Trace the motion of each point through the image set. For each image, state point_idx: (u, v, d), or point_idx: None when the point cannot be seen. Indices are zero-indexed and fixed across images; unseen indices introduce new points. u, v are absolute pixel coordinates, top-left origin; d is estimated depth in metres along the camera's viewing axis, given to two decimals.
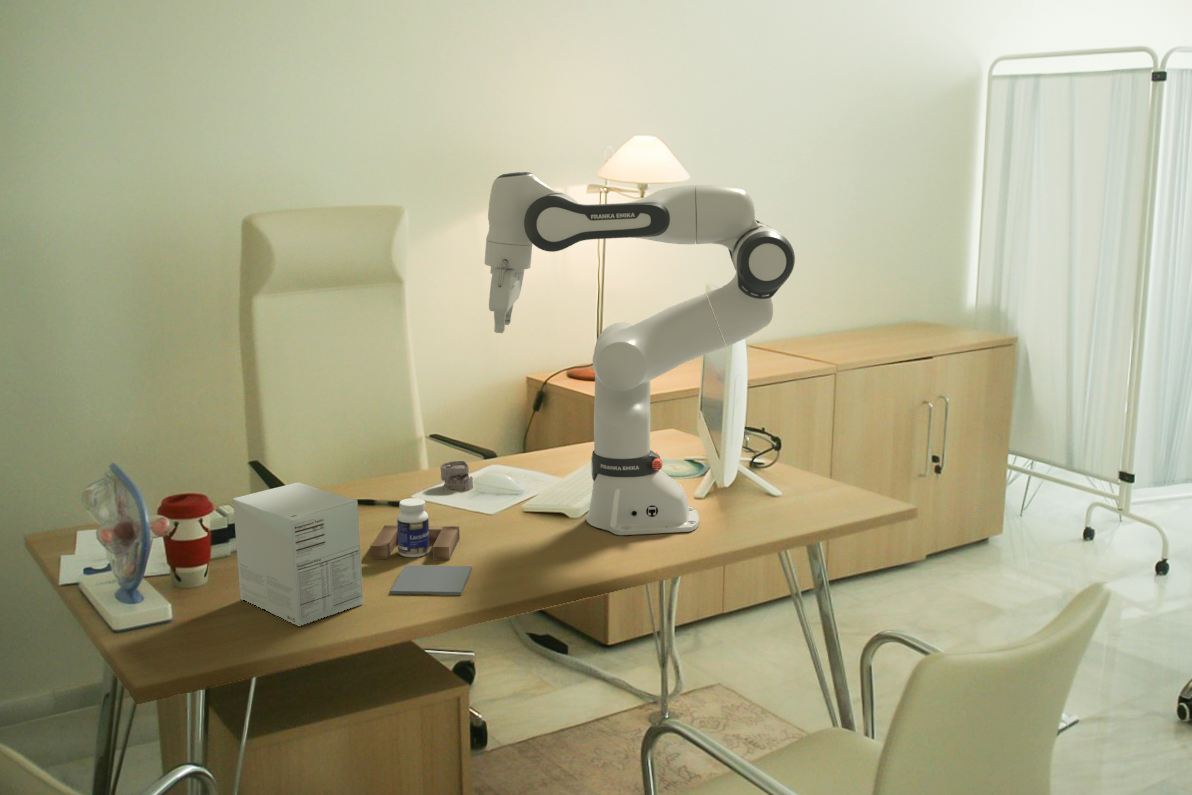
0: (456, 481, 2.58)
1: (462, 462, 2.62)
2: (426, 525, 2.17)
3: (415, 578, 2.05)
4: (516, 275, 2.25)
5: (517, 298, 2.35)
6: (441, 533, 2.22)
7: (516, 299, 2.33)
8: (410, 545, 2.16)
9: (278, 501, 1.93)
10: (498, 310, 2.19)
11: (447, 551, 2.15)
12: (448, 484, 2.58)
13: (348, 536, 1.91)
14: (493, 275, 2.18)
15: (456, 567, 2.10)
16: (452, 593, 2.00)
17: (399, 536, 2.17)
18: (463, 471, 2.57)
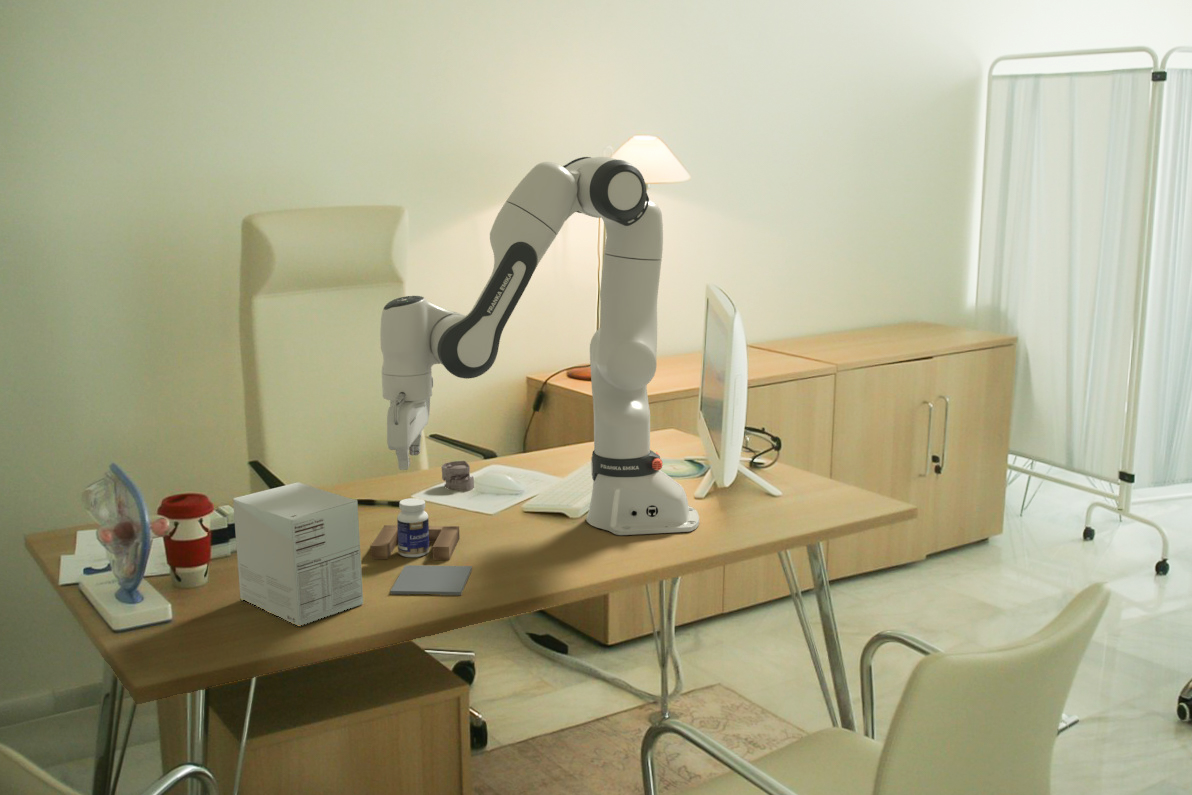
0: (457, 481, 2.58)
1: (463, 462, 2.62)
2: (426, 525, 2.17)
3: (415, 578, 2.05)
4: (416, 406, 2.11)
5: (425, 425, 2.21)
6: (441, 533, 2.22)
7: (423, 427, 2.19)
8: (410, 545, 2.16)
9: (278, 502, 1.93)
10: (398, 448, 2.05)
11: (447, 551, 2.15)
12: (449, 484, 2.58)
13: (348, 536, 1.91)
14: (388, 412, 2.04)
15: (456, 567, 2.10)
16: (452, 593, 2.00)
17: (399, 536, 2.17)
18: (464, 471, 2.57)
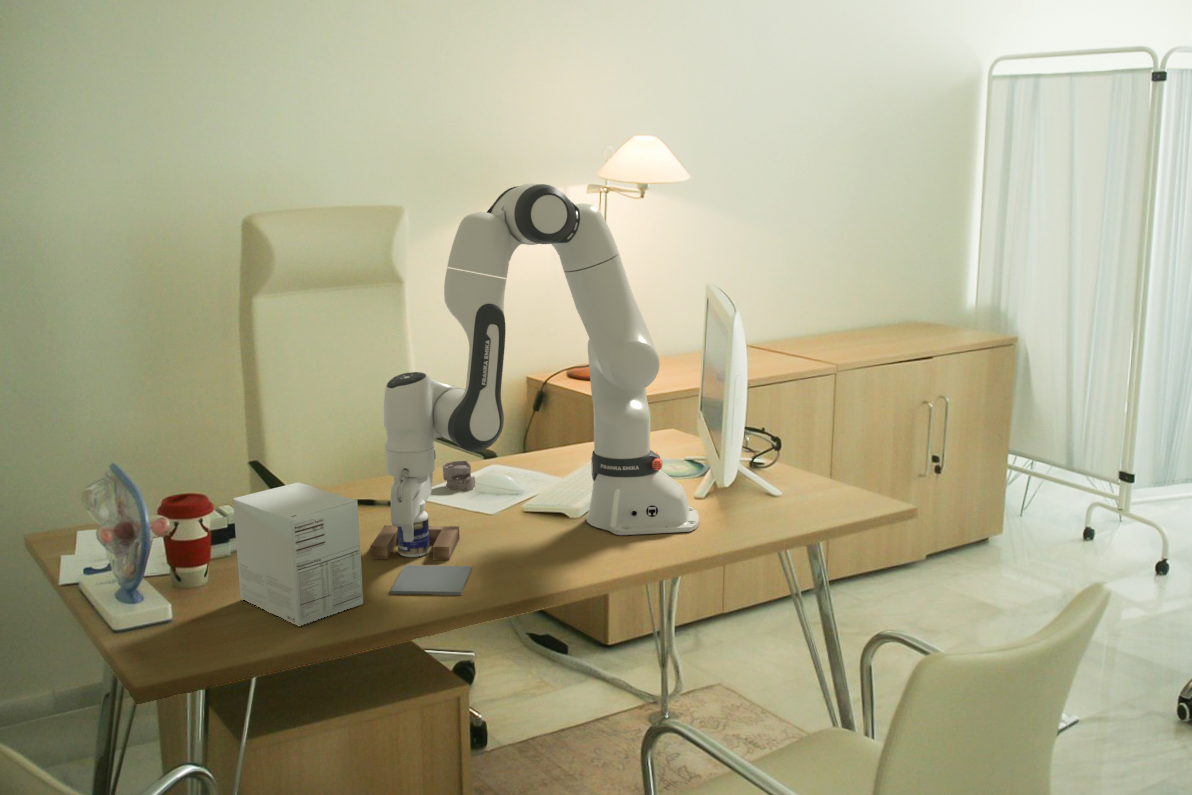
0: (458, 481, 2.58)
1: (464, 462, 2.62)
2: (426, 525, 2.17)
3: (415, 578, 2.05)
4: (420, 481, 2.14)
5: None
6: (441, 533, 2.22)
7: (426, 499, 2.22)
8: (410, 545, 2.16)
9: (278, 502, 1.93)
10: (401, 525, 2.08)
11: (447, 551, 2.15)
12: (450, 484, 2.58)
13: (348, 536, 1.91)
14: (392, 490, 2.08)
15: (456, 567, 2.10)
16: (452, 593, 2.00)
17: (399, 536, 2.17)
18: (465, 471, 2.57)
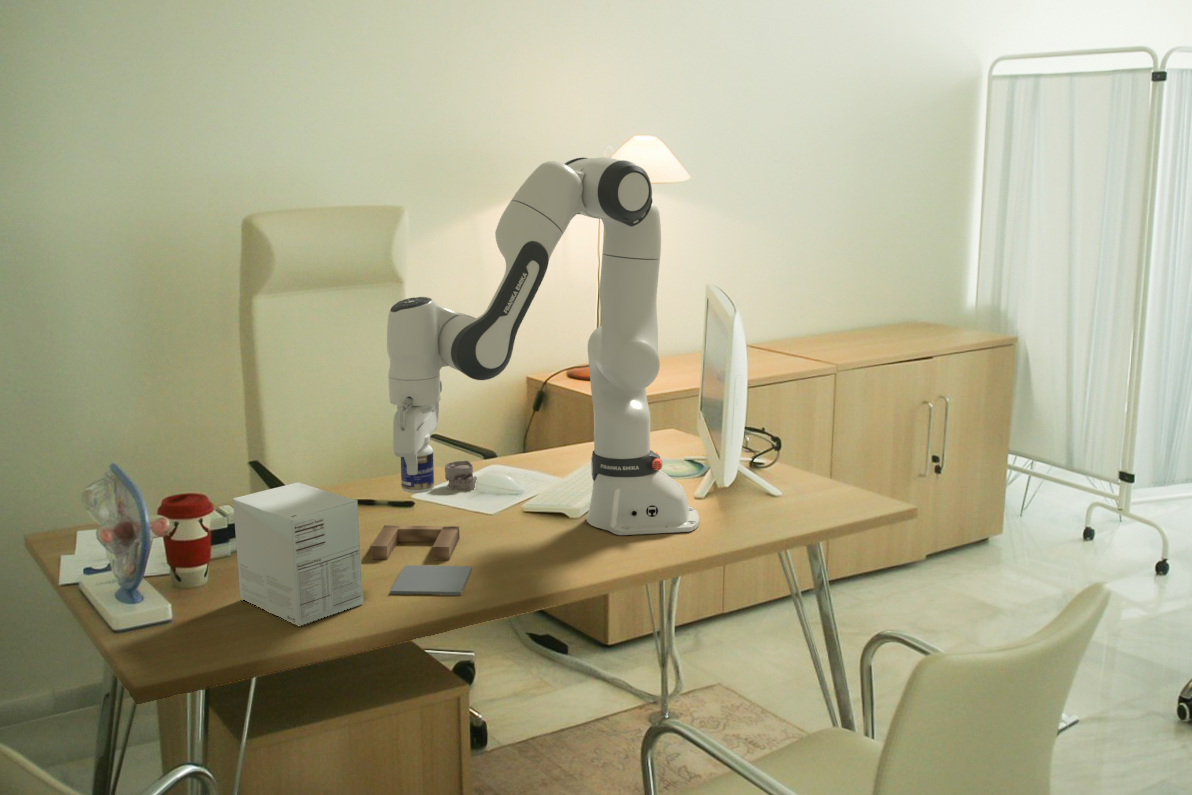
0: (460, 481, 2.58)
1: (466, 462, 2.62)
2: (431, 459, 2.08)
3: (415, 578, 2.05)
4: (424, 411, 2.04)
5: (433, 431, 2.14)
6: (441, 533, 2.22)
7: (431, 433, 2.12)
8: (414, 480, 2.07)
9: (278, 502, 1.93)
10: (404, 455, 1.98)
11: (447, 551, 2.15)
12: (452, 484, 2.58)
13: (348, 536, 1.91)
14: (395, 418, 1.98)
15: (456, 567, 2.10)
16: (452, 593, 2.00)
17: (402, 471, 2.08)
18: (467, 471, 2.57)
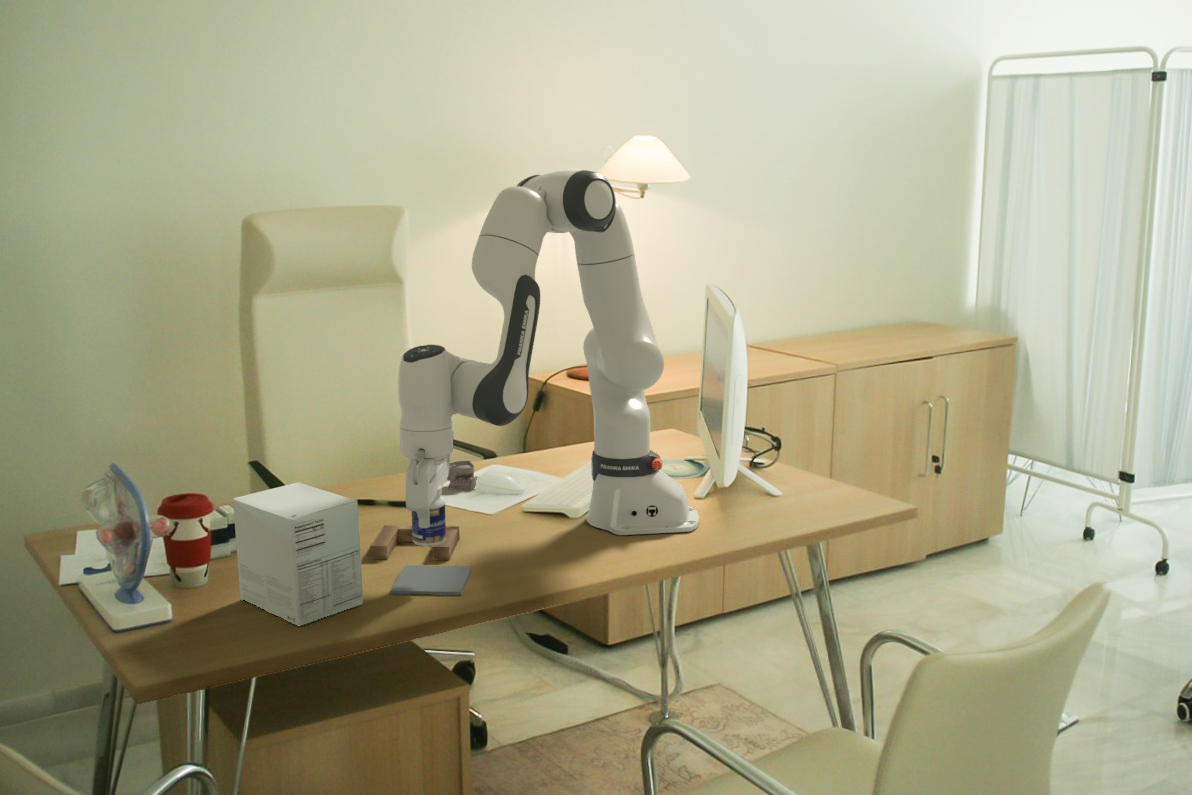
0: (462, 481, 2.58)
1: (467, 462, 2.62)
2: (443, 512, 2.02)
3: (415, 578, 2.05)
4: (437, 463, 1.98)
5: (445, 480, 2.08)
6: None
7: (443, 483, 2.07)
8: (426, 533, 2.01)
9: (278, 502, 1.93)
10: (417, 509, 1.93)
11: (447, 551, 2.15)
12: (453, 484, 2.58)
13: (348, 536, 1.91)
14: (407, 471, 1.92)
15: (456, 567, 2.10)
16: (452, 593, 2.00)
17: (414, 523, 2.02)
18: (469, 471, 2.57)
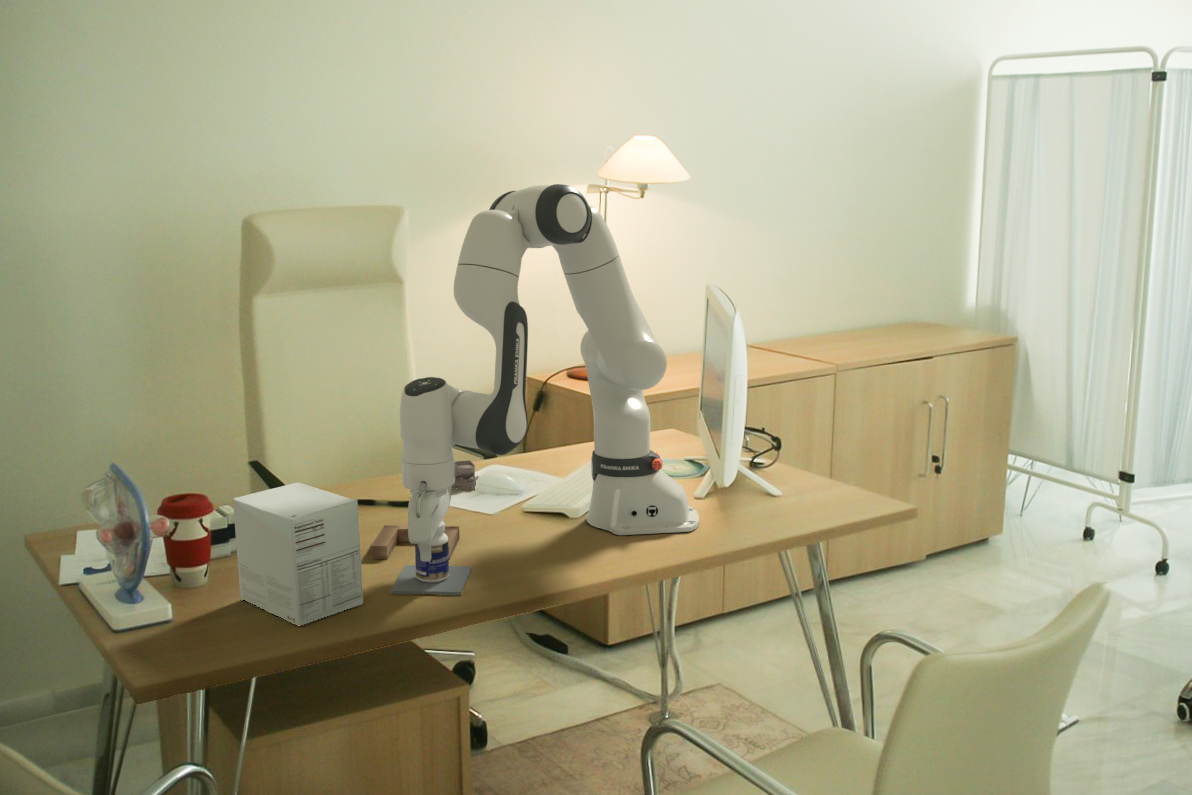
0: (462, 481, 2.58)
1: (468, 462, 2.62)
2: (446, 548, 2.04)
3: (415, 578, 2.05)
4: (438, 495, 2.00)
5: (447, 510, 2.10)
6: None
7: (445, 513, 2.08)
8: (429, 570, 2.02)
9: (278, 502, 1.93)
10: (419, 542, 1.94)
11: None
12: (454, 484, 2.58)
13: (348, 536, 1.91)
14: (410, 504, 1.93)
15: (456, 567, 2.10)
16: (452, 593, 2.00)
17: (417, 560, 2.03)
18: (469, 471, 2.57)
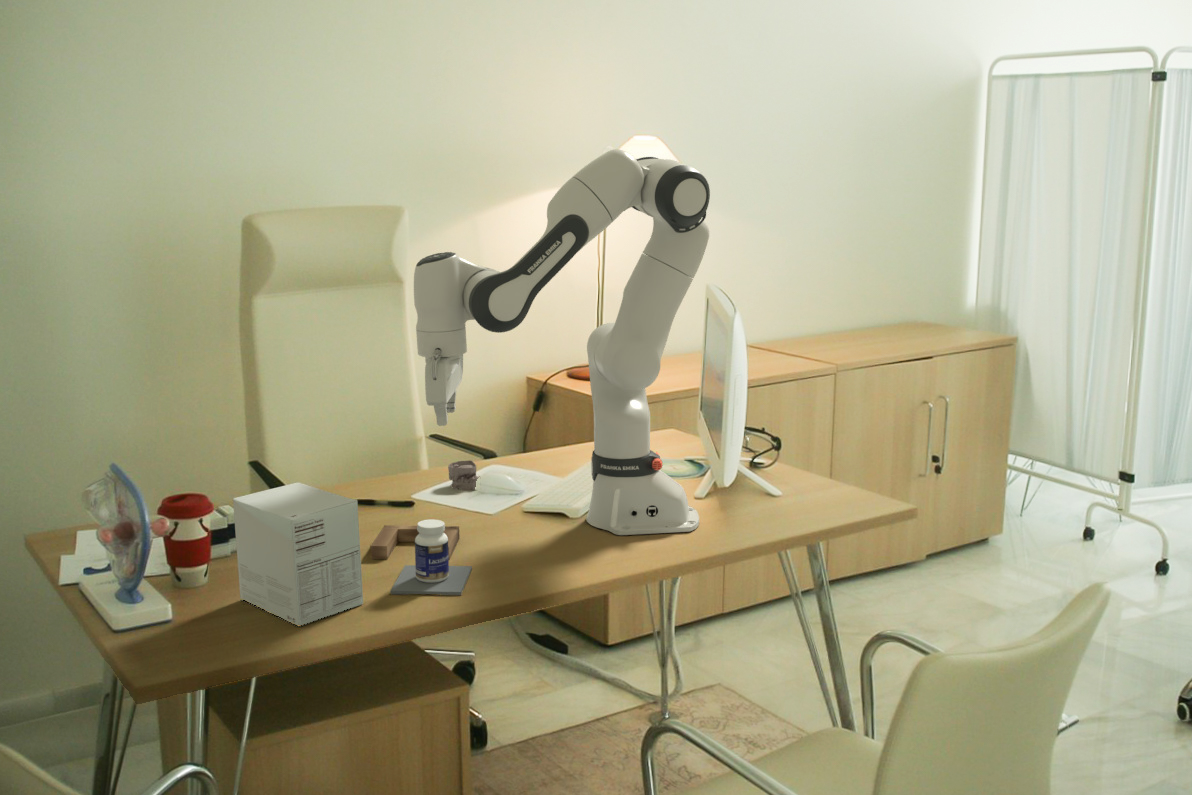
0: (464, 480, 2.58)
1: (470, 462, 2.62)
2: (446, 548, 2.04)
3: (415, 578, 2.05)
4: (452, 362, 2.12)
5: (459, 382, 2.22)
6: None
7: (458, 384, 2.20)
8: (429, 570, 2.02)
9: (278, 502, 1.93)
10: (436, 404, 2.06)
11: None
12: (456, 483, 2.58)
13: (348, 536, 1.91)
14: (426, 368, 2.05)
15: (456, 567, 2.10)
16: (452, 593, 2.00)
17: (417, 560, 2.03)
18: (471, 470, 2.57)
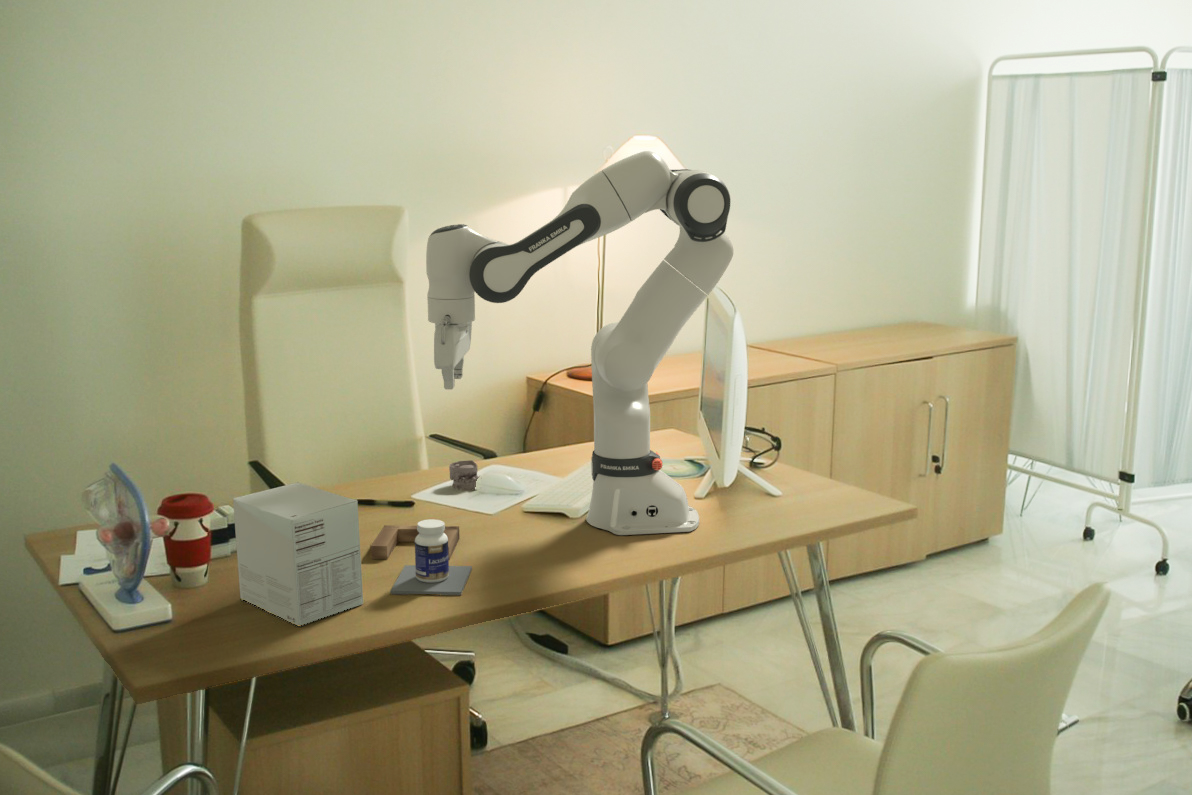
0: (465, 480, 2.58)
1: (471, 461, 2.62)
2: (446, 548, 2.04)
3: (415, 578, 2.05)
4: (461, 329, 2.22)
5: (467, 351, 2.32)
6: None
7: (466, 352, 2.30)
8: (429, 570, 2.02)
9: (278, 502, 1.93)
10: (444, 367, 2.16)
11: None
12: (457, 483, 2.58)
13: (348, 536, 1.91)
14: (435, 333, 2.15)
15: (456, 567, 2.10)
16: (452, 593, 2.00)
17: (417, 560, 2.03)
18: (472, 470, 2.57)
